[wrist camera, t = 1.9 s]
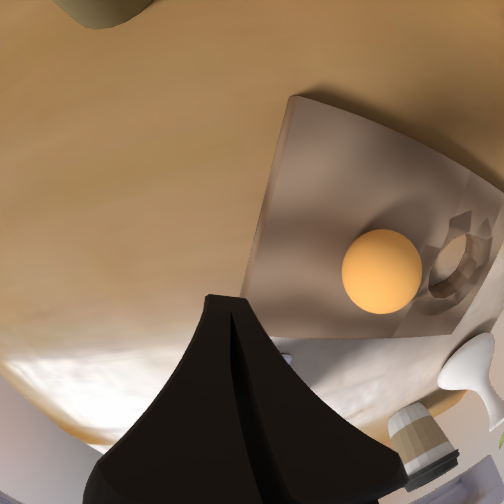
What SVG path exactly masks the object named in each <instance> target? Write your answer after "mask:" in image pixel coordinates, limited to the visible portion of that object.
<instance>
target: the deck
mask: <svg viewBox="0 0 504 504" xmlns="http://www.w3.org/2000/svg"><path fill="white" fill-rule="evenodd" d="M379 229H386V230H392V231H395V232H398V233H400V234H402V235H403V236H405V237H406V238H407V239H409V240H410V241H411V243H412V244H413V245H414V246H415V248H416V250H417V251H418V254H419V256H420V259H421V264H422V278H421V283H420V286H419V288H418V291H417V293H416V294H415V296H414V297H413V299H412V300H411V301H410V302H409V303H408V304H407V305H406V306H404V307H403V308H401V309H399V310H397V311H395V312H392V313H387V314H376V313H371V312H368V311H366V310H363V309H362V308H360V307H359V306H357V305H356V304H355V303H354V302H353V301H352V300H351V298H350V297H349V296H348V294H347V292H346V290H345V288H344V285H343V280H342V264H343V260H344V257H345V255H346V252H347V250H348V249H349V247H350V246H351V244H352V243H353V242H354V241H355V240H356V239H357V238H359V237H360V236H361V235H363V234H365V233H367V232H370V231H373V230H379ZM463 234H466V237H467V241H466V250H465V254H464V256H463V258H462V260H461V262H460V264H459V266H458V268H457V269H456V270H455V271H454V273H453V274H452V275H451V276H450V277H449V278H448V279H447V280H446V281H444V282H442V283H440V284H438V285H435V286H428V283H429V273H430V271H431V269H432V267H433V265H434V263H435V261H436V259H437V257H438V255H439V253H440V252H441V251H442V250H443V249H444V248H445V247H446V246H447V245H448V244H449V243H450V241H451V240H452V239H454V238H456V237H459V236H461V235H463ZM503 241H504V193H503V192H502V191H500V190H499V189H497V188H496V187H494V186H493V185H492V184H490V183H489V182H487V181H486V180H484V179H483V178H481V177H480V176H478V175H476V174H475V173H473V172H472V171H470V170H468V169H467V168H465V167H464V166H462V165H460V164H458V163H457V162H455V161H453V160H452V159H450V158H448V157H446V156H444V155H443V154H441V153H439V152H437V151H435V150H433V149H432V148H430V147H428V146H426V145H424V144H422V143H420V142H418V141H416V140H414V139H412V138H410V137H407V136H405V135H403V134H401V133H399V132H397V131H394V130H392V129H390V128H388V127H385V126H383V125H381V124H378V123H376V122H373V121H371V120H368V119H366V118H363V117H361V116H358V115H355V114H353V113H350V112H347V111H345V110H342V109H339V108H336V107H333V106H330V105H327V104H324V103H321V102H318V101H314V100H311V99H308V98H304V97H301V96H291V97H289V100H288V104H287V108H286V112H285V116H284V120H283V124H282V128H281V132H280V136H279V140H278V144H277V148H276V152H275V156H274V160H273V164H272V168H271V172H270V176H269V180H268V184H267V188H266V192H265V196H264V201H263V205H262V209H261V213H260V217H259V221H258V225H257V229H256V233H255V237H254V241H253V245H252V249H251V253H250V257H249V261H248V265H247V269H246V274H245V278H244V282H243V286H242V290H241V294H240V298H246V299H247V300H248V302H249V304H250V305H251V307H252V309H253V311H254V313H255V315H256V316H257V318H258V320H259V321H260V323H261V325H262V326H263V328H264V330H265V331H266V333H267V334H268V336H274V337H294V338H327V339H371V338H403V337H422V336H436V335H448V334H452V333H453V331H454V330H455V328H456V327H457V325H458V324H459V322H460V321H461V319H462V318H463V316H464V314H465V313H466V311H467V310H468V308H469V306H470V305H471V303H472V301H473V300H474V298H475V296H476V295H477V293H478V291H479V289H480V288H481V286H482V284H483V282H484V280H485V278H486V277H487V275H488V273H489V271H490V269H491V267H492V265H493V263H494V261H495V259H496V257H497V254H498V252H499V250H500V248H501V246H502V243H503Z"/></svg>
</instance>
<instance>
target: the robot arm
mask: <svg viewBox="0 0 504 504" xmlns="http://www.w3.org/2000/svg"><path fill="white" fill-rule="evenodd" d="M291 361H292V358H291V356H290V355H286V354H281V353H280V352H279V351H278V349H277V348H276V346H275V345H274V343H273V342H272V340H271V339H270V337H269V336H268V334H267V333H266V331H265V330H264V328H263V326H262V325H261V323H260V321H259V320H258V318H257V316H256V315H255V313H254V311H253V309H252V307H251V305H250V304H249V302H248V300H247V299H246V298H239V297H230V296H221V295H213V294H209V295H207V296H205V302H204V308H203V313H202V315H201V318H200V321H199V324H198V326H197V328H196V331H195V333H194V335H193V337H192V340H191V342H190V343H189V345H188V347H187V349H186V351H185V353H184V355H183V357H182V359H181V360H180V362H179V364H178V365H177V367H176V369H175V370H174V372H173V373H172V375H171V376H170V378H169V380H168V381H167V383H166V384H165V385H164V387H163V388H162V390H161V391H160V392H159V394H158V395H157V397H156V398H155V399H154V401H153V402H152V403H151V404H150V406H149V407H148V408H147V410H146V411H145V412H144V413H143V414H142V415H141V417H140V418H139V419H138V420H137V421H136V422H135V423H134V425H133V426H132V427H131V428H130V429H129V430H128V431H127V433H126V434H125V435H124V436H123V437H122V438H121V439H120V440H119V441H118V442H117V443H116V444H115V445H114V446H113V447H112V448H111V449H109V450H108V451H107V452H106V453H105V454H104V455H103V456H102V457H101V458H100V459H99V460H98V461H97V463H96V465H95V466H94V468H93V470H92V472H91V474H90V476H89V479H88V481H87V483H86V487H85V491H84V494H83V504H379V502H378V499H379V498H381V497H384V496H385V495H388V494H390V493H392V492H394V491H396V490H398V489H399V488H401V487H403V486H404V485H406V484H407V482H408V481H409V478H408V475H407V472H406V470H405V467H404V465H403V462H402V460H401V457H400V455H399V453H398V452H396V451H394V450H392V449H390V448H388V447H387V446H385V445H383V444H381V443H379V442H378V441H376V440H374V439H372V438H371V437H369V436H368V435H366V434H364V433H363V432H362V431H360V430H359V429H357V428H356V427H354V426H353V425H352V424H350V423H349V422H347V421H346V420H345V419H344V418H342V417H341V416H340V415H339V414H337V413H336V412H335V411H334V410H333V409H332V408H330V407H329V406H328V405H327V404H326V403H325V402H323V401H322V400H321V399H320V398H319V397H318V396H317V395H316V394H315V393H314V392H313V391H312V390H311V389H310V388H309V387H308V386H307V385H306V384H305V383H304V382H303V381H302V379H301V378H300V377H299V376H298V375H297V374H296V372H295V371H294V370H293V369H292V368H291V366H290V363H291ZM503 500H504V484H503V481H502V479H501V477H500V474H499V472H498V470H497V468H496V465H495V463H494V461H493V459H492V457H491V455H488V456H486V457H485V458H484V459H482V460H481V461H480V462H478V463H477V464H475V465H474V466H472V467H471V468H469V469H468V470H467V471H465V472H464V473H462V474H460V475H458V476H457V477H455V478H454V479H452V480H450V481H449V482H447V483H445V484H443V485H442V486H440V487H438V488H436V489H435V490H434V491H432V492H431V493H429V494H427V495H425V496H423V497H421V498H419V499H417V500H415V501H413V502H411V503H409V504H501V503H502V502H503ZM0 504H24V503H22V502H20V501H18V500H16V499H14V498H12V497H10V496H9V495H7V494H5V493H3V492H1V491H0Z"/></svg>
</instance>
